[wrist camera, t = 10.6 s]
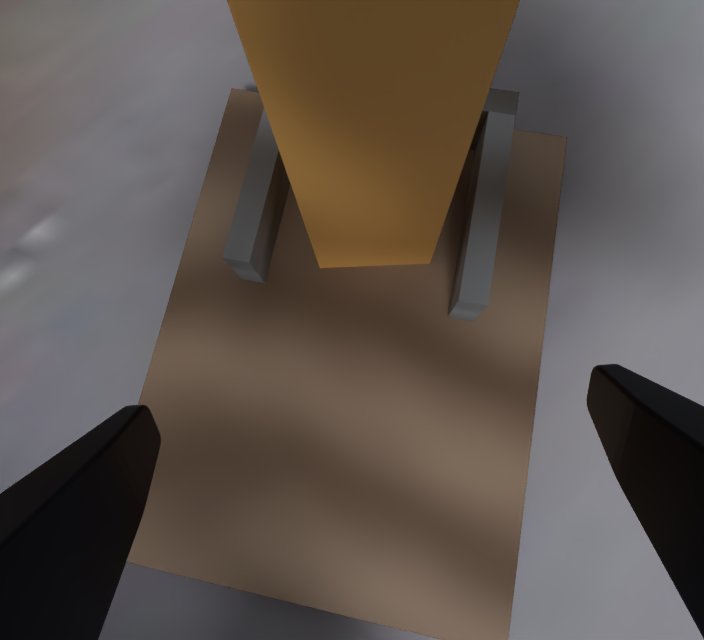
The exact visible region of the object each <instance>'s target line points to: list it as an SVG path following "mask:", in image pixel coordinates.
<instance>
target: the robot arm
mask: <svg viewBox="0 0 704 640" xmlns="http://www.w3.org/2000/svg"><path fill="white" fill-rule="evenodd" d="M587 407H588V410H589V413H590V416H591V418H592V420H593V423H594V425H595V428H596V430H597V433H598V435H599V438H600V440H601V443H602V445H603V447H604V450H605V452H606V455H607V457H608V460H609V462H610V465H611V467H612V469H613V472H614V474H615V476H616V478H617V480H618V482H619V484H620V486H621V488H622V490H623V492H624V494H625V496H626V497H627V499H628V501H629V503H630V505H631V506H632V508H633V510H634V512H635V514H636V516H637V517H638V519H639V521H640V523H641V525H642V527H643V528H644V530H645V532H646V534H647V536H648V538H649V539H650V541H651V543H652V545H653V547H654V548H655V550H656V552H657V554H658V556H659V558H660V559H661V561H662V563H663V565H664V567H665V569H666V570H667V572H668V574H669V576H670V578H671V580H672V581H673V583H674V585H675V587H676V589H677V591H678V592H679V594H680V596H681V598H682V600H683V601H684V603H685V605H686V607H687V609H688V611H689V612H690V614H691V616H692V618H693V620H694V622H695V623H696V625H697V627H698V629H699V631H700V633H701V634H702V636H703V638H704V406H702V405H700V404H698V403H696V402H694V401H692V400H690V399H688V398H686V397H683V396H681V395H679V394H677V393H675V392H673V391H671V390H669V389H667V388H665V387H663V386H661V385H659V384H657V383H655V382H653V381H651V380H649V379H647V378H645V377H643V376H641V375H639V374H637V373H634V372H632V371H630V370H628V369H626V368H624V367H622V366H620V365H618V364H607V365H597V366H595V367H594V368H593V370H592V373H591V378H590V383H589V389H588V394H587ZM160 446H161V435H160V432H159V429H158V427H157V425H156V422H155V420H154V418H153V415H152V413H151V410H150V409H149V407H148V406H146V405H143V404H142V405H131V406H126V407H124V408H122V409H121V410H119V411H118V412H116V413H115V414H114V415H112V416H111V417H109V418H108V419H106V420H105V421H104V422H102V423H101V424H99V425H98V426H96V427H95V428H94V429H92V430H91V431H89V432H88V433H86V434H85V435H84V436H82V437H81V438H79V439H78V440H76V441H75V442H74V443H72V444H71V445H69V446H68V447H66V448H65V449H64V450H62V451H61V452H59V453H58V454H56V455H55V456H54V457H52V458H51V459H49V460H48V461H46V462H45V463H44V464H42V465H41V466H39V467H38V468H36V469H35V470H34V471H32V472H31V473H29V474H28V475H26V476H25V477H24V478H22V479H21V480H19V481H18V482H16V483H15V484H14V485H12V486H11V487H9V488H8V489H6V490H5V491H4V492H2V493H1V494H0V640H98V638H99V635H100V633H101V630H102V627H103V624H104V622H105V619H106V616H107V613H108V611H109V608H110V605H111V602H112V600H113V597H114V594H115V591H116V588H117V586H118V583H119V580H120V577H121V575H122V572H123V569H124V566H125V564H126V561H127V558H128V555H129V553H130V550H131V547H132V544H133V542H134V539H135V536H136V533H137V531H138V528H139V525H140V522H141V519H142V516H143V513H144V510H145V506H146V503H147V499H148V495H149V491H150V487H151V483H152V479H153V474H154V470H155V466H156V462H157V458H158V454H159V450H160Z"/></svg>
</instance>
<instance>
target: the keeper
mask: <svg viewBox="0 0 704 640" xmlns="http://www.w3.org/2000/svg"><path fill="white" fill-rule="evenodd" d="M518 95H519V92H512V91H505V90H498V89H491V88H490V89H489V92H488V95H487V98H486V101H485V104H484V107H483V110H482V113H481V116H480V119H479V122H478V124H477V127H476V130H475V133H474V136H473V139H472V142H471V145H470V148H469V151H468V154H467V157H466V160H465V162H464V165H463V168H462V171H461V174H460V177H459V180H458V183H457V186H456V189H455V192H454V195H453V198H452V201H451V203H450V206H449V209H448V212H447V215H446V218H445V221H444V224H443V227H442V230H441V233H440V236H439V239H438V241H437V244H436V247H435V250H434V253H433V256H432V259H431V262H430V264H408V265H383V266H359V267H334V268H320V267H319V264H318V261H317V259H316V256H315V253H314V250H313V247H312V244H311V241H310V238H309V235H308V233H307V230H306V227H305V224H304V221H303V218H302V215H301V212H300V209H299V207H298V204H297V201H296V198H295V195H294V192H293V189H292V186H291V183H290V181H289V178H288V175H287V172H286V169H285V166H284V163H283V160H282V158H281V155H280V152H279V149H278V146H277V143H276V140H275V137H274V134H273V132H272V129H271V126H270V123H269V120H268V117H267V114H266V111H265V108H264V106H263V103H262V100H261V97H260V94H259V92H253V91H246V90H239V89H231V92H230V96H229V99H228V102H227V106H226V109H225V113H224V116H223V119H222V123H221V126H220V129H219V133H218V136H217V140H216V143H215V146H214V150H213V153H212V157H211V160H210V163H209V167H208V170H207V173H206V177H205V180H204V184H203V187H202V190H201V194H200V197H199V200H198V204H197V207H196V211H195V214H194V217H193V221H192V224H191V227H190V231H189V234H188V238H187V241H186V244H185V248H184V251H183V254H182V258H181V261H180V265H179V268H178V271H177V275H176V278H175V282H174V285H173V288H172V292H171V295H170V298H169V302H168V305H167V309H166V312H165V315H164V319H163V322H162V325H161V329H160V332H159V336H158V339H157V342H156V346H155V349H154V352H153V356H152V359H151V363H150V366H149V369H148V373H147V376H146V379H145V383H144V386H143V390H142V393H141V396H140V400H139V403H138V405H142V404H143V405H146V406H148V407H149V409H150V410H151V413H152V415H153V418H154V420H155V422H156V425H157V427H158V429H159V432H160V435H161V446H160V450H159V454H158V458H157V462H156V466H155V470H154V474H153V479H152V483H151V487H150V491H149V495H148V499H147V503H146V506H145V510H144V513H143V516H142V519H141V522H140V525H139V528H138V531H137V533H136V536H135V539H134V542H133V544H132V547H131V550H130V553H129V555H128V558H127V561H126V562H128V563H132V564H136V565H140V566H144V567H148V568H152V569H157V570H161V571H165V572H169V573H173V574H177V575H181V576H185V577H189V578H193V579H197V580H201V581H205V582H209V583H213V584H218V585H222V586H226V587H230V588H234V589H238V590H242V591H246V592H250V593H254V594H258V595H262V596H266V597H270V598H274V599H278V600H283V601H287V602H291V603H295V604H299V605H303V606H307V607H311V608H315V609H319V610H323V611H327V612H331V613H335V614H339V615H344V616H348V617H352V618H356V619H360V620H364V621H368V622H372V623H376V624H380V625H384V626H388V627H392V628H396V629H400V630H404V631H409V632H413V633H417V634H421V635H425V636H429V637H433V638H437V639H441V640H508V638H509V629H510V621H511V612H512V603H513V595H514V586H515V578H516V569H517V561H518V552H519V544H520V535H521V526H522V518H523V509H524V501H525V492H526V484H527V475H528V467H529V458H530V449H531V441H532V432H533V424H534V415H535V407H536V398H537V390H538V381H539V372H540V364H541V355H542V347H543V338H544V330H545V321H546V312H547V304H548V295H549V287H550V278H551V270H552V261H553V253H554V244H555V235H556V227H557V218H558V210H559V201H560V193H561V184H562V176H563V167H564V158H565V150H566V141H567V137H562V136H555V135H548V134H541V133H534V132H527V131H521V130H514V123H515V116H516V109H517V102H518Z"/></svg>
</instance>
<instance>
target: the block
mask: <svg viewBox="0 0 704 640" xmlns="http://www.w3.org/2000/svg"><path fill="white" fill-rule="evenodd" d="M227 2H228V4H229V7H230V10H231V13H232V16H233V19H234V22H235V25H236V28H237V30H238V33H239V36H240V39H241V42H242V45H243V48H244V51H245V54H246V56H247V59H248V62H249V65H250V68H251V71H252V74H253V77H254V80H255V82H256V85H257V88H258V91H259V94H260V97H261V100H262V103H263V106H264V108H265V111H266V114H267V117H268V120H269V123H270V126H271V129H272V132H273V134H274V137H275V140H276V143H277V146H278V149H279V152H280V155H281V158H282V160H283V163H284V166H285V169H286V172H287V175H288V178H289V181H290V183H291V186H292V189H293V192H294V195H295V198H296V201H297V204H298V207H299V209H300V212H301V215H302V218H303V221H304V224H305V227H306V230H307V233H308V235H309V238H310V241H311V244H312V247H313V250H314V253H315V256H316V259H317V261H318V264H319V267H320V268H334V267H359V266H383V265H408V264H430V262H431V259H432V256H433V253H434V250H435V247H436V244H437V241H438V239H439V236H440V233H441V230H442V227H443V224H444V221H445V218H446V215H447V212H448V209H449V206H450V203H451V201H452V198H453V195H454V192H455V189H456V186H457V183H458V180H459V177H460V174H461V171H462V168H463V165H464V162H465V160H466V157H467V154H468V151H469V148H470V145H471V142H472V139H473V136H474V133H475V130H476V127H477V124H478V122H479V119H480V116H481V113H482V110H483V107H484V104H485V101H486V98H487V95H488V92H489V89H490V86H491V83H492V81H493V78H494V75H495V72H496V69H497V66H498V63H499V60H500V57H501V54H502V51H503V48H504V45H505V43H506V40H507V37H508V34H509V31H510V28H511V25H512V22H513V19H514V16H515V13H516V10H517V7H518V4H519V2H520V0H227Z"/></svg>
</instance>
